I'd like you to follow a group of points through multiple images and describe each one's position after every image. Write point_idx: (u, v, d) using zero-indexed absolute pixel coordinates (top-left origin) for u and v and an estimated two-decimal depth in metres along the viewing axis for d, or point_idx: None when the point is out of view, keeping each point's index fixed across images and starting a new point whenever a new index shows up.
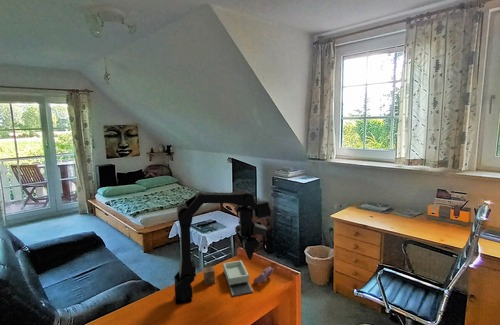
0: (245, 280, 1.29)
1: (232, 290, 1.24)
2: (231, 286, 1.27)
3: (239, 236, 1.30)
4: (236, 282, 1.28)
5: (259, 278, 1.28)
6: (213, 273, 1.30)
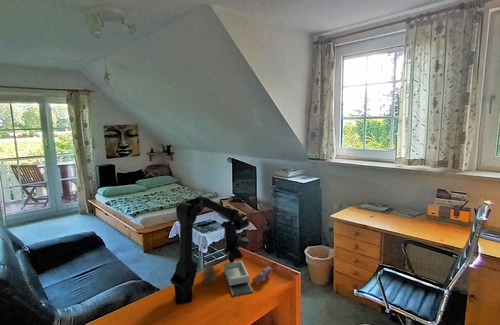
0: (245, 281, 1.28)
1: (232, 290, 1.24)
2: (231, 286, 1.27)
3: (226, 251, 1.40)
4: (236, 283, 1.27)
5: (258, 278, 1.28)
6: (213, 273, 1.30)
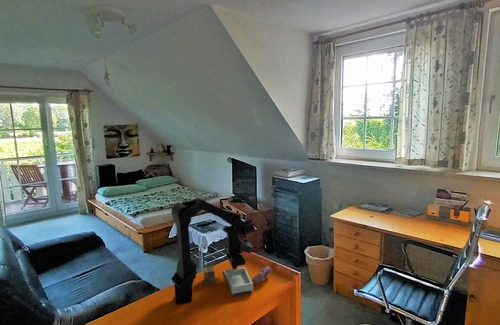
0: (249, 288, 1.23)
1: None
2: None
3: (229, 257, 1.35)
4: (240, 291, 1.22)
5: (257, 278, 1.28)
6: (213, 273, 1.30)
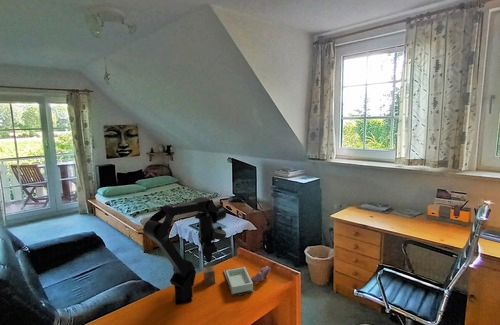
0: (249, 288, 1.23)
1: None
2: None
3: (201, 242, 1.33)
4: (240, 291, 1.22)
5: (256, 277, 1.28)
6: (213, 273, 1.30)
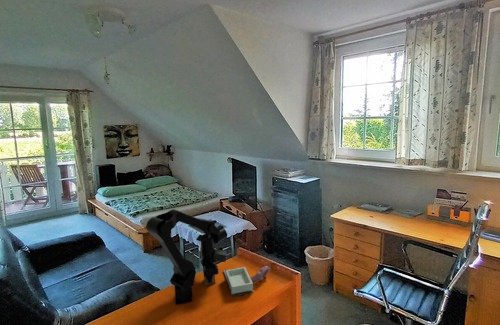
0: (249, 288, 1.23)
1: None
2: None
3: (203, 264, 1.34)
4: (240, 291, 1.22)
5: (256, 277, 1.29)
6: None
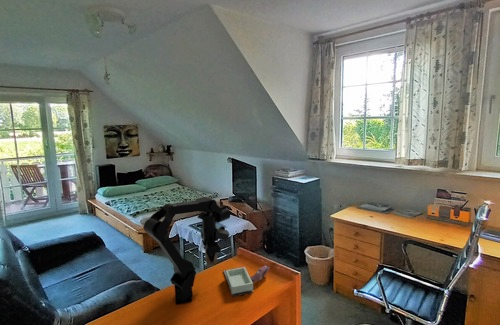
0: (249, 288, 1.23)
1: None
2: None
3: (204, 243, 1.31)
4: (240, 291, 1.22)
5: (255, 277, 1.29)
6: None
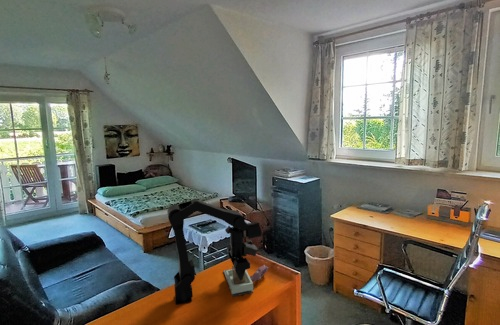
0: (249, 288, 1.23)
1: None
2: None
3: (230, 256, 1.31)
4: (240, 291, 1.22)
5: (254, 277, 1.29)
6: None
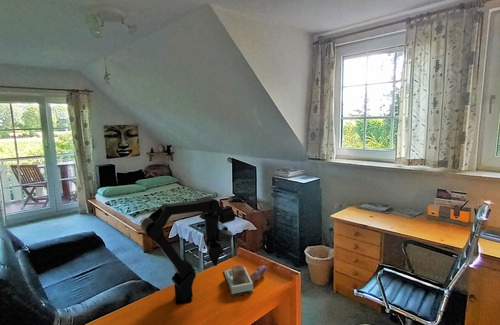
0: (249, 288, 1.23)
1: None
2: None
3: None
4: (240, 291, 1.22)
5: (253, 276, 1.29)
6: (243, 272, 1.26)
